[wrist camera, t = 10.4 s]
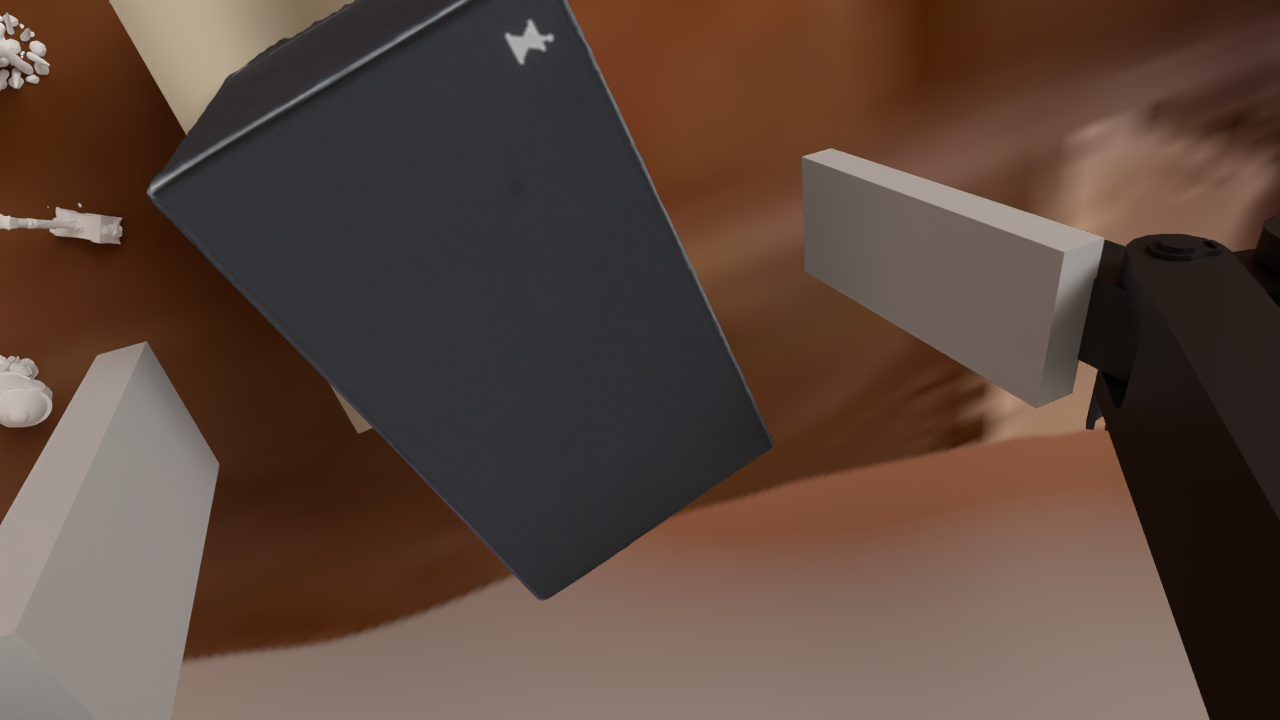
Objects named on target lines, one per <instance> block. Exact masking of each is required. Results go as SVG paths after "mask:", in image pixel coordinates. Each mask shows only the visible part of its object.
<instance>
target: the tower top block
mask: <svg viewBox="0 0 1280 720" xmlns="http://www.w3.org/2000/svg"><path fill="white" fill-rule="evenodd" d="M109 1H110V3H111V5H112V6H113V8H114V10H115V12H116V13H117V15H118V17H119V19H120V20H121V22H122V24H123V26H124V27H125V29H126V31H127V33H128V34H129V36H130V38H131V40H132V41H133V43H134V45H135V46H136V48H137V50H138V52H139V53H140V55H141V57H142V59H143V60H144V62H145V64H146V66H147V67H148V69H149V71H150V73H151V74H152V76H153V78H154V80H155V81H156V83H157V85H158V86H159V88H160V90H161V92H162V93H163V95H164V97H165V99H166V100H167V102H168V104H169V106H170V107H171V109H172V111H173V113H174V114H175V116H176V118H177V120H178V121H179V123H180V125H181V126H182V128H183V130H184V132H185V133H186V135H187V134H188V131H189V130H191V129H192V127H193V126H194V125H195V124H196V122H197V120H198V118H199V117H200V116H201V114H202V113H203V112H204V111H205V109H206V107H207V106H208V104H209V103H210V102H211V101H212V99H213V98H214V97H215V95H216V94H217V92H218V90H219V89H220V87H221V86H222V84H223V83H224V80H225V79H226V78H227V77H228V76H229V75H230V74H232V73H234V72H236V71H238V70H239V69H240V68H242V67H243V66H245V65H246V64H247V63H248V62H249V61H251V60H252V59H254V58H255V57H256V56H257V55H258V54H259V53H261V52H264V51H265V50H266V49H267V48H268V47H269V46H272V45H275V44H276V43H277V42H278V41H279V40H281V39H283V38H292V37H294V36H295V35H296V34H297V33H299V32H302V31H304V30H305V29H306V28H308V27H309V26H311V25H312V24H313V23H314V22H315V21H319V20H322V19H324V18H326V17H328V16H329V15H330V14H332V13H334V12H337V11H339V10H340V9H341V8H342V7H343V6H344V5H345V4H351V3H353V2H354V1H355V0H109ZM330 386H331V385H330ZM331 387H332V386H331ZM332 389H333V391H334V393H335V394H336V396H337V398H338V400H339V401H340V403H341V405H342V407H343V408H344V410H345V412H346V413H347V415H348V417H349V419H350V420H351V422H352V424H353V426H354V427H355V429H356V431H357V433H358V434H359V433H362V432H364V431H367V430H369V429H371V428H373V427H372V426H371V425H370V424H369V423H368V422H367V421H366V420H365V419H364V418H363V417H362V416H361V415H360V414H359V413H358V412H357V411H356V410H355V409H354V408H353V407H352V406H351V405H350V404H349V403H348V402H347V401H346V400H345V399H344V398H343V397H342V396H341V395H340V394H339V393H338V392H337V391H336V390H335V389H334V388H333V387H332Z"/></svg>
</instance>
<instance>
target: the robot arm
mask: <svg viewBox="0 0 1280 720" xmlns="http://www.w3.org/2000/svg"><path fill="white" fill-rule="evenodd" d="M802 184H803V222H804V260H805V272H807V273H809V274H810V275H812V276H814V277H816V278H817V279H819V280H821V281H822V282H824V283H826V284H827V285H829V286H831V287H832V288H834V289H836V290H837V291H839V292H841V293H843V294H844V295H846V296H848V297H849V298H851V299H853V300H854V301H856V302H858V303H859V304H861V305H863V306H864V307H866V308H868V309H870V310H871V311H873V312H875V313H876V314H878V315H880V316H881V317H883V318H885V319H886V320H888V321H890V322H891V323H893V324H895V325H897V326H898V327H900V328H902V329H903V330H905V331H907V332H908V333H910V334H912V335H913V336H915V337H917V338H918V339H920V340H922V341H924V342H925V343H927V344H929V345H930V346H932V347H934V348H935V349H937V350H939V351H940V352H942V353H944V354H945V355H947V356H949V357H950V358H952V359H954V360H956V361H957V362H959V363H961V364H962V365H964V366H966V367H967V368H969V369H971V370H972V371H974V372H976V373H977V374H979V375H981V376H983V377H984V378H986V379H988V380H989V381H991V382H993V383H994V384H996V385H998V386H999V387H1001V388H1003V389H1004V390H1006V391H1008V392H1010V393H1011V394H1013V395H1015V396H1016V397H1018V398H1020V399H1021V400H1023V401H1025V402H1026V403H1028V404H1030V405H1031V406H1033V407H1035V408H1038V407H1041V406H1043V405H1045V404H1048V403H1050V402H1052V401H1055V400H1057V399H1059V398H1062V397H1064V396H1066V395H1069V394H1071V393H1072V391H1073V386H1074V382H1075V377H1076V372H1077V367H1078V363H1079V360H1080V361H1082V362H1084V363H1086V364H1088V365H1090V366H1092V367H1094V368H1097V369H1098V372H1097V376H1096V381H1095V385H1094V389H1093V394H1092V398H1091V402H1090V407H1089V411H1088V416H1087V420H1086V429H1090V430H1094V426H1095V421H1096V420H1098V419H1099V418H1101V417H1102V416H1103V417H1104V420H1105V423H1106V426H1105V430H1106V431H1108V432H1109V434H1110V437H1111V440H1112V443H1113V446H1114V448H1115V451H1116V454H1117V457H1118V460H1119V463H1120V466H1121V469H1122V471H1123V474H1124V477H1125V480H1126V483H1127V486H1128V488H1129V491H1130V494H1131V497H1132V500H1133V503H1134V505H1135V508H1136V511H1137V514H1138V517H1139V520H1140V523H1141V525H1142V528H1143V531H1144V534H1145V536H1146V540H1147V543H1148V545H1149V548H1150V551H1151V554H1152V557H1153V560H1154V562H1155V565H1156V568H1157V571H1158V574H1159V577H1160V579H1161V582H1162V585H1163V588H1164V591H1165V594H1166V597H1167V599H1168V602H1169V605H1170V608H1171V611H1172V614H1173V616H1174V619H1175V622H1176V625H1177V628H1178V631H1179V633H1180V636H1181V639H1182V642H1183V645H1184V648H1185V651H1186V653H1187V656H1188V659H1189V662H1190V665H1191V667H1192V670H1193V673H1194V676H1195V679H1196V682H1197V685H1198V687H1199V690H1200V693H1201V696H1202V699H1203V702H1204V705H1205V707H1206V710H1207V713H1208V716H1209V719H1210V720H1280V215H1278V216H1273V217H1272V218H1270V219H1268V220H1266V221H1265V223H1264V226H1263V229H1262V232H1261V235H1260V238H1259V241H1258V244H1257V247H1256V249H1250V250H1244V251H1237V252H1232V251H1230V250H1229V249H1228V248H1226V247H1225V246H1223V245H1222V244H1220V243H1218V242H1216V241H1214V240H1208V239H1206V238H1200V237H1195V236H1191V235H1185V234H1157V235H1147V236H1143V237H1140V238H1136V239H1133V240H1132V241H1131V242H1130V243H1128V244H1127V245H1126V247H1125V246H1122V245H1119V244H1116V243H1113V242H1110V241H1107V240H1104V239H1105V238H1104V237H1101V236H1098V235H1095V234H1092V233H1089V232H1086V231H1083V230H1080V229H1077V228H1074V227H1071V226H1067V225H1064V224H1061V223H1058V222H1055V221H1052V220H1049V219H1046V218H1043V217H1040V216H1037V215H1034V214H1031V213H1028V212H1025V211H1022V210H1018V209H1015V208H1012V207H1009V206H1006V205H1003V204H1000V203H997V202H994V201H991V200H988V199H985V198H982V197H979V196H976V195H973V194H969V193H966V192H963V191H960V190H957V189H954V188H951V187H948V186H945V185H942V184H939V183H936V182H933V181H930V180H927V179H924V178H920V177H917V176H914V175H911V174H908V173H905V172H902V171H899V170H896V169H893V168H890V167H887V166H884V165H881V164H878V163H875V162H871V161H868V160H865V159H862V158H859V157H856V156H853V155H850V154H847V153H844V152H841V151H838V150H835V149H832V148H831V149H828V150H824V151H820V152H817V153H813V154H810V155H806V156H803V157H802ZM218 469H219V463H218V461H217V459H216V458H215V456H214V454H213V453H212V451H211V449H210V447H209V446H208V444H207V442H206V441H205V439H204V437H203V436H202V434H201V432H200V431H199V429H198V427H197V425H196V424H195V422H194V420H193V419H192V417H191V415H190V414H189V412H188V410H187V409H186V407H185V405H184V404H183V402H182V400H181V398H180V397H179V395H178V393H177V392H176V390H175V388H174V387H173V385H172V383H171V382H170V380H169V378H168V376H167V375H166V373H165V371H164V370H163V368H162V366H161V365H160V363H159V361H158V360H157V358H156V356H155V354H154V353H153V351H152V349H151V348H150V346H149V344H148V343H147V341H146V342H142V343H139V344H135V345H132V346H128V347H125V348H121V349H117V350H114V351H110V352H107V353H103V354H100V355H97V356H96V358H95V360H94V362H93V363H92V365H91V367H90V369H89V370H88V372H87V374H86V376H85V377H84V379H83V381H82V383H81V385H80V386H79V388H78V390H77V392H76V393H75V395H74V397H73V399H72V400H71V402H70V404H69V406H68V407H67V409H66V411H65V413H64V414H63V416H62V418H61V420H60V421H59V423H58V425H57V427H56V428H55V430H54V432H53V434H52V435H51V437H50V439H49V441H48V442H47V444H46V446H45V448H44V450H43V451H42V453H41V455H40V457H39V458H38V460H37V462H36V464H35V465H34V467H33V469H32V471H31V472H30V474H29V476H28V478H27V479H26V481H25V483H24V485H23V486H22V488H21V490H20V492H19V493H18V495H17V497H16V499H15V500H14V502H13V504H12V506H11V508H10V509H9V511H8V513H7V515H6V516H5V518H4V520H3V522H2V523H1V525H0V720H171V716H172V712H173V707H174V701H175V696H176V691H177V686H178V680H179V675H180V670H181V665H182V659H183V654H184V649H185V643H186V638H187V633H188V628H189V622H190V617H191V612H192V606H193V601H194V596H195V591H196V585H197V580H198V575H199V570H200V564H201V559H202V554H203V548H204V543H205V538H206V533H207V527H208V522H209V517H210V511H211V506H212V501H213V496H214V490H215V485H216V480H217V475H218Z"/></svg>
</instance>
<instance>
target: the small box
mask: <svg viewBox="0 0 1280 720" xmlns="http://www.w3.org/2000/svg"><path fill="white" fill-rule="evenodd" d="M147 195H148V197H149V198H150V199H151V201H152V202H153V204H154V205H155V206H156V208H157V209H158V210H159V211H160V212H161V213H162V214H163V215H164V216H165V217H166V218H167V219H168V220H169V221H170V222H171V223H173V225H174V226H175V227H176V228H177V229H178V230H179V231H180V232H181V233H182V234H183V235H184V236H185V237H186V238H187V239H188V240H189V241H190V242H191V243H192V244H194V245H195V246H196V248H197V249H198V250H199V251H200V252H201V253H202V254H203V256H204V257H205V258H206V259H207V260H208V261H209V262H210V263H211V264H212V265H213V266H214V267H215V268H216V269H217V270H218V271H219V272H220V273H221V274H222V275H223V276H224V277H225V278H226V279H227V280H228V281H229V282H230V283H231V284H232V285H233V286H234V287H235V288H236V289H237V290H238V291H239V292H240V293H241V294H242V295H243V296H244V297H245V298H246V299H247V300H248V301H249V302H250V303H251V304H252V305H253V306H254V307H255V308H256V309H257V310H258V311H259V312H260V313H261V314H262V315H263V316H264V317H265V318H266V319H267V320H268V321H269V322H270V323H271V324H272V325H273V326H274V327H275V328H276V329H277V330H278V331H279V332H280V333H281V334H282V335H283V336H284V338H285V339H286V340H287V341H288V342H289V343H290V344H291V345H292V346H293V347H294V348H295V349H296V350H297V351H298V352H299V353H300V354H301V355H302V356H303V357H304V358H305V359H306V360H307V361H308V362H309V363H310V364H311V365H312V366H313V367H314V368H315V369H316V370H317V371H318V372H319V373H320V374H321V375H322V376H323V377H324V378H325V379H326V380H327V381H328V382H329V384H330V385H331V386H332V387H333V388H334V389H335V390H336V391H337V392H338V393H339V394H340V395H341V396H342V397H343V398H344V399H345V400H346V401H347V402H348V403H349V404H350V405H351V406H352V407H353V408H354V409H355V410H356V411H357V412H358V413H359V414H360V415H361V416H362V417H363V418H364V419H365V420H366V421H367V422H368V423H369V424H370V425H371V426H372V427H373V429H374V430H375V431H376V432H377V433H378V434H379V435H380V436H381V437H382V438H383V439H384V440H385V441H386V442H387V443H388V444H389V445H390V446H391V447H392V448H393V449H394V450H395V451H396V452H397V453H398V454H399V455H400V456H401V457H402V458H403V460H404V461H405V462H406V463H407V464H408V465H409V466H410V467H411V468H412V469H413V470H414V471H415V472H416V473H417V474H418V475H419V476H420V477H421V478H422V479H423V480H424V481H425V482H426V483H427V484H428V485H429V486H430V487H431V488H432V489H433V491H434V492H435V493H436V494H437V495H438V496H439V497H440V498H441V499H442V500H443V501H444V502H445V503H446V504H447V505H448V506H449V507H450V508H451V509H452V510H453V511H454V512H455V513H456V514H457V515H458V516H459V517H460V518H461V519H462V520H463V522H464V523H465V524H466V525H467V526H468V527H469V528H470V529H471V530H472V531H473V532H474V533H475V534H476V535H477V536H478V537H479V538H480V539H481V540H482V541H483V542H484V543H485V545H486V546H487V547H488V548H489V549H490V550H491V551H492V552H493V553H494V554H495V555H496V556H497V557H498V558H499V559H500V560H501V562H502V563H503V564H504V565H505V566H506V567H507V568H508V569H509V570H510V571H511V572H512V573H513V574H514V575H515V576H516V577H517V578H518V579H519V580H520V581H521V582H522V584H524V585H525V587H526V588H527V589H528V590H529V591H530V592H531V593H532V594H533V595H534V596H535V597H536V598H537V599H539V600H542V601H543V600H546V599H549V598H550V597H552V596H553V595H555V594H557V593H558V592H560V591H561V590H563V589H564V588H566V587H568V586H569V585H570V584H572V583H574V582H575V581H577V580H578V579H580V578H581V577H583V576H584V575H586V574H587V573H589V572H590V571H592V570H593V569H595V568H596V567H597V566H599V565H601V564H602V563H604V562H605V561H607V560H608V559H610V558H611V557H613V556H614V555H615V554H617V553H618V552H619V551H621V550H623V549H624V548H626V547H627V546H629V545H630V544H631V543H632V542H634V541H635V540H637V539H638V538H640V537H641V536H643V535H644V534H646V533H647V532H649V531H650V530H652V529H653V528H655V527H656V526H658V525H659V524H660V523H662V522H663V521H665V520H666V519H667V518H669V517H670V516H672V515H673V514H675V513H676V512H678V511H679V510H681V509H682V508H684V507H685V506H687V505H688V504H690V503H691V502H692V501H694V500H695V499H697V498H698V497H700V496H701V495H703V494H704V493H705V492H707V491H708V490H710V489H711V488H713V487H714V486H716V485H717V484H718V483H720V482H721V481H723V480H724V479H726V478H727V477H729V476H730V475H731V474H733V473H734V472H736V471H737V470H739V469H740V468H742V467H744V466H745V465H747V464H748V463H750V462H751V461H752V460H754V459H756V458H757V457H759V456H760V455H762V454H764V453H765V452H767V451H768V450H770V449H771V448H772V447H773V440H772V437H771V435H770V433H769V431H768V429H767V427H766V424H765V422H764V420H763V418H762V415H761V413H760V411H759V409H758V407H757V405H756V403H755V401H754V399H753V396H752V394H751V392H750V390H749V388H748V385H747V383H746V381H745V379H744V376H743V374H742V372H741V370H740V368H739V366H738V364H737V362H736V360H735V358H734V356H733V354H732V352H731V350H730V347H729V344H728V342H727V340H726V338H725V336H724V334H723V332H722V330H721V328H720V326H719V323H718V321H717V319H716V317H715V315H714V313H713V310H712V308H711V306H710V304H709V302H708V299H707V297H706V295H705V293H704V290H703V288H702V286H701V284H700V282H699V279H698V277H697V275H696V273H695V271H694V269H693V267H692V265H691V263H690V261H689V258H688V256H687V254H686V252H685V250H684V248H683V245H682V243H681V241H680V239H679V237H678V235H677V234H676V231H675V229H674V227H673V224H672V222H671V220H670V218H669V216H668V214H667V212H666V210H665V208H664V206H663V204H662V202H661V201H660V198H659V196H658V194H657V192H656V189H655V187H654V185H653V182H652V180H651V178H650V175H649V173H648V171H647V169H646V167H645V164H644V162H643V160H642V158H641V156H640V154H639V152H638V150H637V148H636V146H635V144H634V142H633V139H632V137H631V135H630V133H629V130H628V128H627V126H626V124H625V121H624V119H623V117H622V115H621V113H620V110H619V108H618V106H617V104H616V102H615V100H614V98H613V96H612V94H611V92H610V90H609V88H608V86H607V84H606V82H605V79H604V77H603V75H602V73H601V70H600V69H599V67H598V65H597V63H596V61H595V59H594V56H593V53H592V50H591V48H590V47H589V45H588V44H587V42H586V40H585V38H584V35H583V32H582V30H581V28H580V26H579V24H578V23H577V20H576V18H575V16H574V14H573V12H572V10H571V8H570V6H569V3H568V1H567V0H355V1H354V2H353V3H351V4H345V5H344V6H343V7H342V8H341V9H340V10H339V11H337V12H334V13H332V14H330V15H329V16H328V17H326V18H324V19H322V20H319V21H315V22H314V23H313V24H312V25H311V26H309V27H308V28H306V29H305V30H304V31H302V32H299V33H297V34H296V35H295V36H294V37H292V38H283V39H281V40H279V41H278V42H277V43H276V44H275V45H272V46H269V47H268V48H267V49H266V50H265V51H264V52H261V53H259V54H258V55H257V56H256V57H255V58H254V59H252V60H251V61H249V62H248V63H247V64H246V65H245V66H243V67H242V68H240V69H239V70H238V71H236V72H234V73H232V74H230V75H229V76H228V77H227V78H226V79H225V80H224V83H223V84H222V86H221V87H220V89H219V90H218V92H217V94H216V95H215V97H214V98H213V99H212V101H211V102H210V103H209V104H208V106H207V107H206V109H205V111H204V112H203V113H202V114H201V116H200V117H199V118H198V120H197V122H196V124H195V125H194V126H193V127H192V129H191V130H189V131H188V134H187V136H186V137H185V138H184V139H183V141H182V142H181V143H180V145H179V146H178V147H177V149H176V151H175V153H174V154H173V156H172V157H171V159H170V160H169V161H168V163H167V164H166V165H165V167H164V168H163V170H162V171H161V172H160V173H158V174H156V175H155V177H154V178H153V179H152V180H151V183H150V185H149V188H148V190H147Z"/></svg>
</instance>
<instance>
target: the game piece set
mask: <svg viewBox="0 0 1280 720" xmlns="http://www.w3.org/2000/svg"><path fill="white" fill-rule="evenodd" d="M3 20H4V22H5V23H6V28H7V32H8V34H10V35H13V34H14V30H13V27H15V26H17V25H18V20H17V19H16V18H15V17H13V16H11V15H9V14H8V13H7V12H6V15H4V16H3V18H2V17H1V16H0V21H3ZM20 27H21V28H22V29H23V27H24V25H22V24H20ZM4 33H5V26H4V25H3V24H2V23H0V67H6V66H7V65H8V64H9V62H10V65H12V66H13V65H14V66H15V67H16V68H14V69H12V77H11V78H10V79H9V85H10V86H12V87H13V88H17V89H19V88H20V87H21V86H22V85H23V83H24V81H23V79H22V78H20V76H21V71H22V72H24V73H26V74H29V75H30V74H33V68H32V66H31V65H29V64H28V63H26V62H24V61H23V60H21V59H20V58H19V57H18V56H17V55H15V54H17V53H18V52H20V51H21V47H20V44H19V42H18V41H15V40H13V39H9V40H5V38H4ZM30 37H34V32H31V31H30V29H29V28H27V29H25V30H24V32H23V33H22V34H21V35H20V39H21V40H22V41H28V40H29V39H30ZM22 44H23V43H22ZM29 47H30V49H31V51H32V52H27V54H26V55H27V57H28V58H29V59H30V60H32V61H35V64H34V67H35V71H36V72H37V73H38V74H40V75H47V74H48V73H49V69H48V66H50V65H49V64H48V63H47V62H46V61H44V60H43V59H42V58H40V57H43V56H44V55H45V53H46V48H45V45H43V44H42V43H40V42H39V41H32V42H31V43H30V46H29ZM24 53H25V52H24V51H22V52H21V55H23V54H24ZM39 56H40V57H39ZM21 58H23V56H21ZM12 66H11V67H12ZM17 68H18V69H17ZM20 70H21V71H20ZM8 77H9V72H8V71H7V70H6V69H2V70H0V91H1V89H5V88H6V87H7V81H6V79H7V78H8ZM26 81H27V82H30V83H34V84H36V83H38V82H39V78H38V77H37V76H35V75H31V76H28V77H27V78H26ZM78 206H79V207H82V206H81V204H80V203H78ZM48 208H49V207H48ZM121 220H122V218H120V217H112V216H105V215H98V214H91V213H90V214H88V213H85V214H83V213H77V211H72V210H66V209H60V208H59V207H56V218H54V219H53V221H52V220H35V219H30V218H29V219H28V218H26V219H19V218H13V217H11V216H3V215H2V214H0V229H2V228H4V229H7V230H10V229H14V228H18V227H22V228H24V227H25V228H30V229H35V228H49V229H50V230H49V231H50V232H51V233H52V234H55V236H63V237H77V238H83V239H88V240H91V241H92V242H95V243H113V244H121V243H120V241H119V237H121V236H122V227H121V226H119V225H120V222H121ZM52 228H56V229H52ZM38 372H39V370H38V368H37V366H36V365H35V363H34V362H33V361H32V360H30V359H22V360H20V358H19V356H17V358H15V357H14V356H10V357H9V358H8V359H7V360H6V358H5V357H3V356H1V355H0V424H3V425H4V426H7V427H28V426H33V425H36V424H38V423H40V422H42V421H43V420H45V419H46V418H47V417H48V416H49V414H50V413H51V410H52V398H53V397H52V395H53V393H52V391H50V390H51V389H50V388H48V387H47V386H45V384H44V383H42V382H41V381H38V380H34V377H36V376H37V374H38Z"/></svg>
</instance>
